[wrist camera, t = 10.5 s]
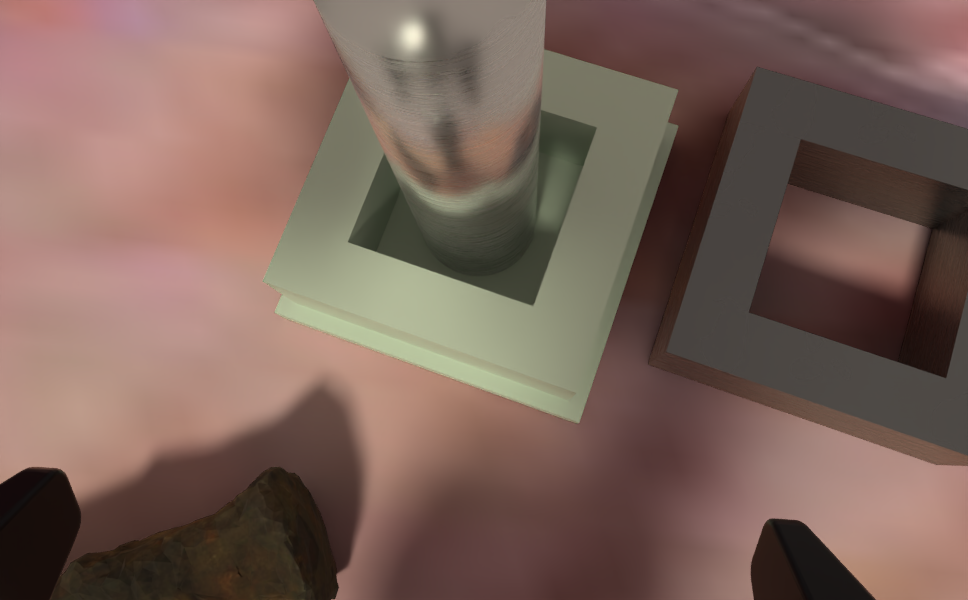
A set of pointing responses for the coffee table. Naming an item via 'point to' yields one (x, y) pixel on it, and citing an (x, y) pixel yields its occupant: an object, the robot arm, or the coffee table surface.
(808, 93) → the socket
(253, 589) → the hand tool
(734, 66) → the coffee table surface
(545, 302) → the container
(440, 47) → the grey cylinder
